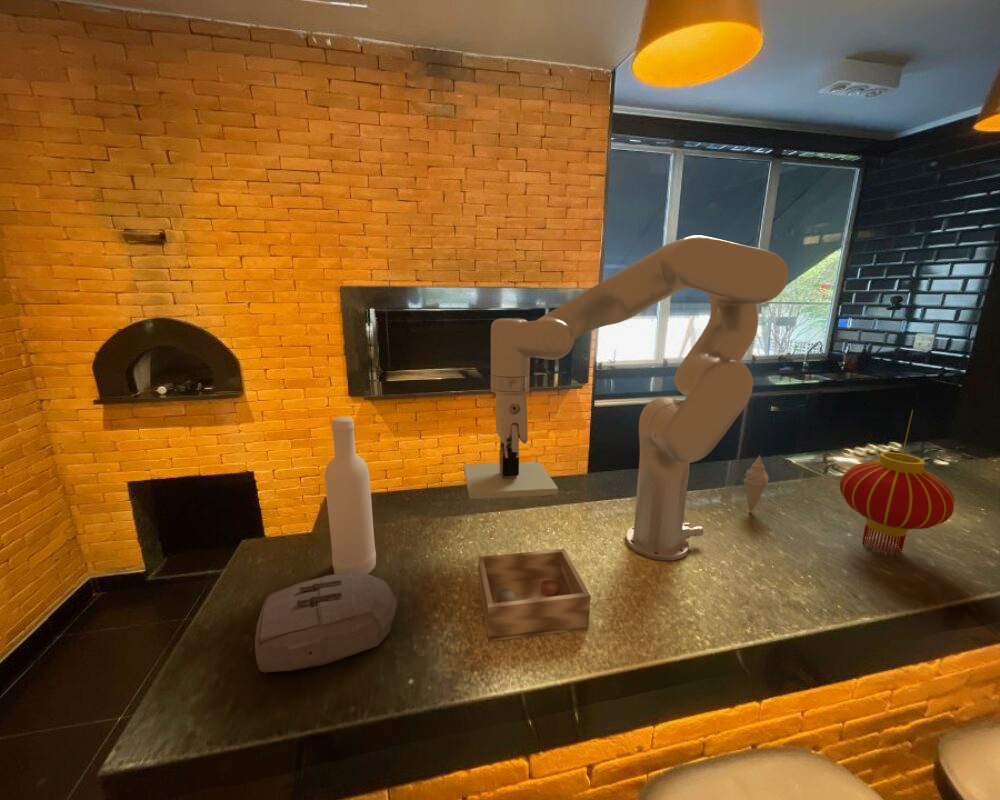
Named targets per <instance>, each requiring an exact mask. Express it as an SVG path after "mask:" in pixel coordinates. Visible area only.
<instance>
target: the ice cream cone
mask: <svg viewBox="0 0 1000 800" xmlns="http://www.w3.org/2000/svg"><path fill="white" fill-rule="evenodd" d="M744 476H745V478H743V479H742V480H743V483H744V484H743V485H744V488H745V489H744V490H745V495H746V501H747V506H748V511H749V510H750V511H752V512H754V510H755V507H756V506H757V505H758V502H759V500H760V498H761V496H762V495H763V493H764V490H765V489H766V487H767V486H768V482H769V474H768V472H766V471H765V465H764V464H763V460H762V458H761V454H759V455H758V457H757V458H756V459H755V461H754V462H753V463H752V465H751V468H749V469H748V470H746V473H745V475H744Z"/></svg>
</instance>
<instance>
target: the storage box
mask: <svg viewBox="0 0 1000 800" xmlns="http://www.w3.org/2000/svg"><path fill="white" fill-rule="evenodd" d="M477 560H478V561H477V566H478V569H477V571H478V576H477V577H478V589H479V597H480V602H481V608H482V612H483V613H482V614H483V618H484V619H483V620H484V624H485V630H486V635H487V640H488V643H489V642H496V641H497V642H499V641H505V640H513V639H521V638H527V637H535V636H543V635H551V634H557V633H558V634H559V633H566V632H573V631H574V632H575V631H580V630H581V631H582V630H589V629H590V627H589V626H590V612H591V611H590V609H591V594H590V592H589V591H588V588H587V587H586V585H585V583H584V581H583V580H582V578H581V576H580V575H579V572H578V570H577V569H576V567H575V565H574V563H573V561H572V559H571V558H570V556H569V554H568V552H567V551H566V549H565V548H556V549H548V550H537V551H536V550H535V551H528V552H527V551H526V552H515V553H506V554H495V555H486V556H485V555H484V556H478V559H477Z"/></svg>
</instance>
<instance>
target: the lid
mask: <svg viewBox="0 0 1000 800" xmlns="http://www.w3.org/2000/svg"><path fill="white" fill-rule="evenodd" d="M509 447H511V446H508V448H509ZM503 457H504V446H500V445H499V462H498V463H495V462H494V463H477V464H476V463H474V464H473V463H471V464H468V463H467V464H463V472H464V473H463V474H464V478H465V481H466V482H465V483H466V487H467V488H466V489H467V492H468V497H469V500H470V499H471V500H472V499H473V500H475V499H477V500H486V499H487V500H488V499H504V498H505V499H506V498H525V497H528V498H529V497H542V496H545V497H546V496H547V495H549V496H550V495H551V496H552V495H558V494H559V488H558V486H557V484H556V483H555V482H554V480H553V479H552V478H551V476H550V475H549V473H548V471H547V470H546V469H545V467H544V466H543V465H542V463H541V461H526V462H525V461H524V462H521V461H519V475H518V476H503ZM499 465H500V467H499Z"/></svg>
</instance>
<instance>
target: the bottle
mask: <svg viewBox="0 0 1000 800" xmlns="http://www.w3.org/2000/svg"><path fill="white" fill-rule="evenodd" d="M330 430H331V431H332V437H333V438H332V439H333V449H334V450H333V451H334V457H333V458H332V459H331V460H330V461H329V462H328V463H327V465H326V468H325V471H324V472H325V473H324V485H325V495H326V503H327V504H326V505H327V514H328V525H329V535H330V544H331V555H332V556H331V560H332V561H331V562H332V568H333V575H335V574H343V573H365V574H369V575H370V574H371V572H372V571H373V570H374V569H375V568H376V564H377V560H376V559H377V553H376V548H375V547H376V545H375V534H374V533H375V532H374V519H373V518H374V517H373V508H372V507H373V506H372V505H373V503H372V492H371V490H372V489H371V481H370V480H371V479H370V470H369V468H368V465H367V463H366V461H365V459H364V458H362V457H361V456H360V455H358V454H357V452H356V451H357V450H356V442H355V441H356V439H355V423H354V419H353V418H352V417H351V416H338V417H335V418H333V419H331V429H330Z"/></svg>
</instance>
